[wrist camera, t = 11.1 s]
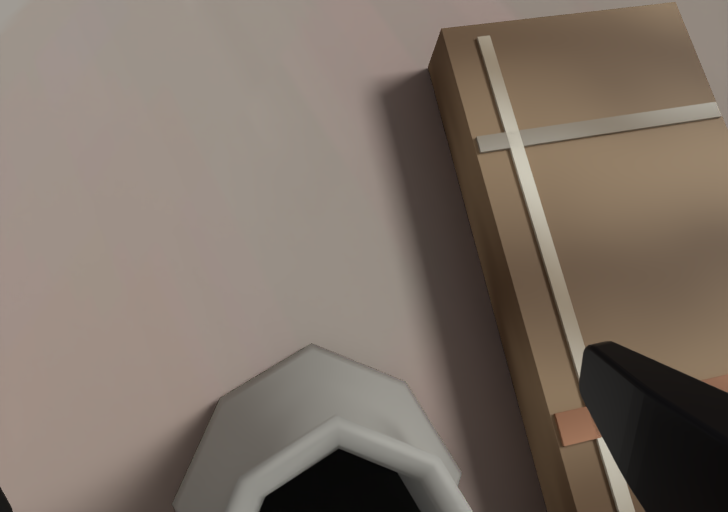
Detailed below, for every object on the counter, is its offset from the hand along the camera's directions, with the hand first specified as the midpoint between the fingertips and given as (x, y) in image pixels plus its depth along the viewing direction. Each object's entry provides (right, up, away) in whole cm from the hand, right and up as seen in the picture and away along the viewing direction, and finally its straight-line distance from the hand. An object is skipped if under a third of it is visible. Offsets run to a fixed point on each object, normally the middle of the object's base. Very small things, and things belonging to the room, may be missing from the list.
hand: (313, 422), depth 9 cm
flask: (0, -4, +7) cm, 8 cm away
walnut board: (+9, +1, +9) cm, 13 cm away
